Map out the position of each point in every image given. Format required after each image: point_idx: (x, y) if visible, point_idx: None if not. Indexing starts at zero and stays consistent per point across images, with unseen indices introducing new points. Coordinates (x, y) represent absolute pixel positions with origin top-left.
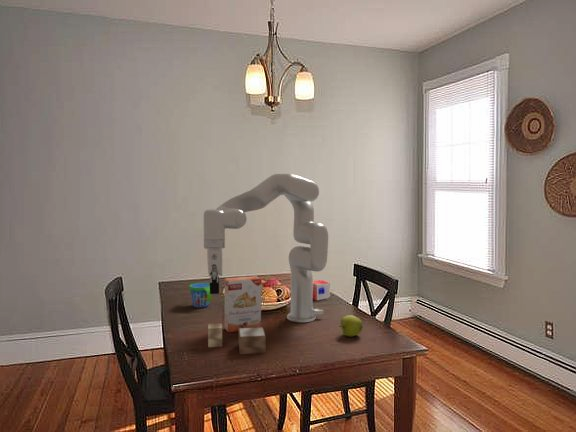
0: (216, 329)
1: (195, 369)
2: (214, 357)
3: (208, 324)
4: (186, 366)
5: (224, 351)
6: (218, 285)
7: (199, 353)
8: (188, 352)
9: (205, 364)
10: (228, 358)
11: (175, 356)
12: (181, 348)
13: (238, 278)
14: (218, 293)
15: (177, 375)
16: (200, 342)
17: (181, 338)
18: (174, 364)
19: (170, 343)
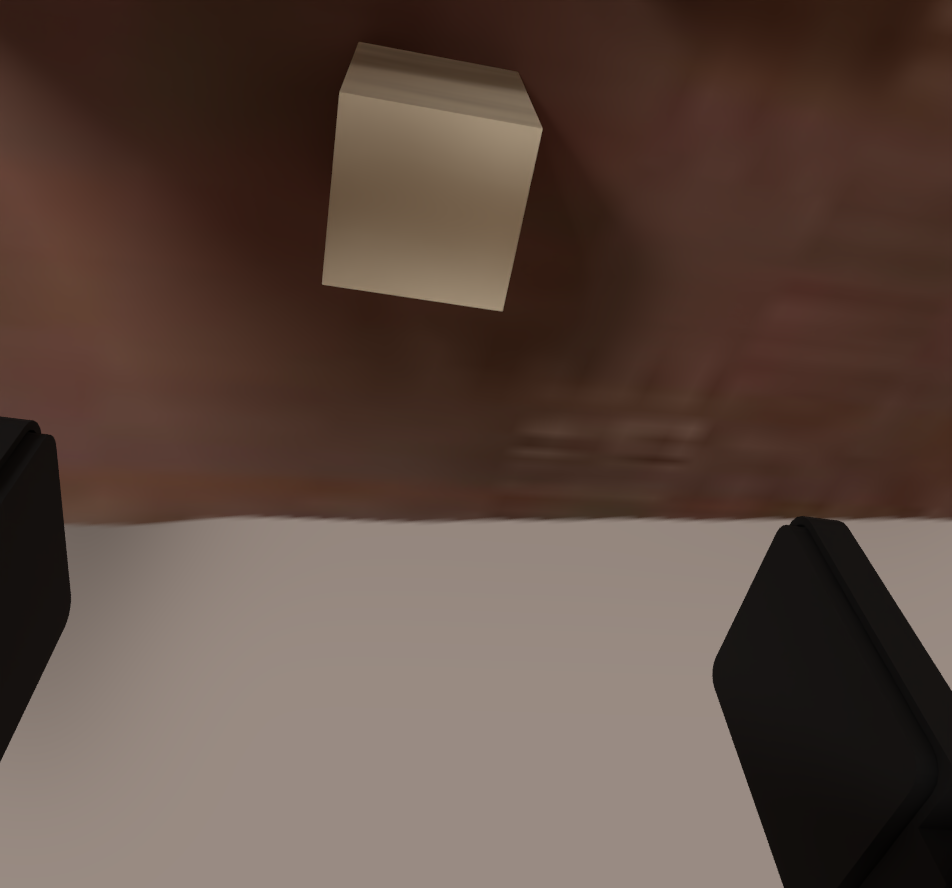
0: (524, 202)
1: (928, 387)
2: (773, 205)
3: (336, 284)
4: (834, 440)
5: (668, 74)
6: (944, 703)
7: (614, 322)
8: (553, 404)
9: (881, 304)
10: (872, 70)
11: (599, 496)
12: (439, 447)
13: None
14: (829, 523)
15: (948, 502)
16: None
17: (176, 431)
18: (750, 509)
19: (293, 516)
